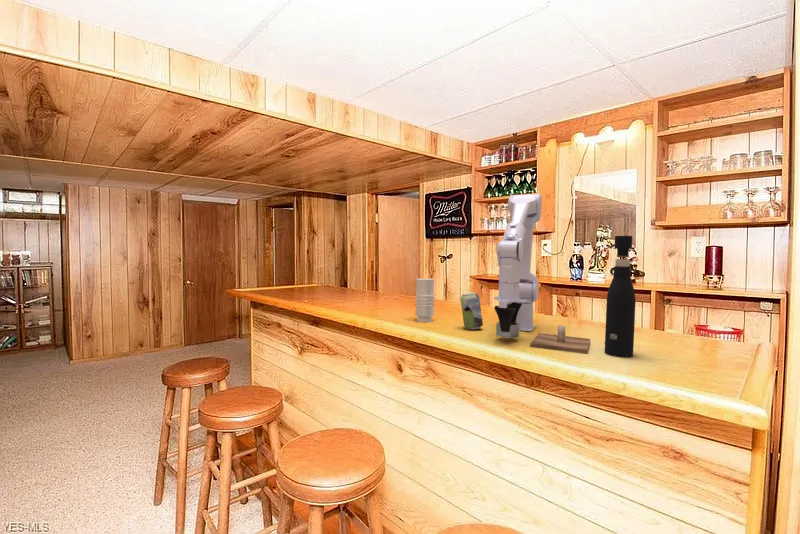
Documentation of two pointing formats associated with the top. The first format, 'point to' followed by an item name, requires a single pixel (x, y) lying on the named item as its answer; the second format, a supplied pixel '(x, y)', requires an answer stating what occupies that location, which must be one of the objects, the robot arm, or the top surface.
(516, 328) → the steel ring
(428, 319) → the grey ribbed cylinder
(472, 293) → the beverage can
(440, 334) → the top surface
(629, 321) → the black water bottle
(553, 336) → the stand
